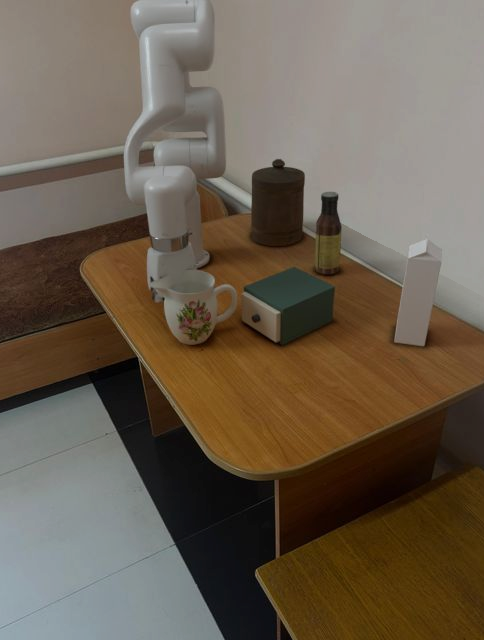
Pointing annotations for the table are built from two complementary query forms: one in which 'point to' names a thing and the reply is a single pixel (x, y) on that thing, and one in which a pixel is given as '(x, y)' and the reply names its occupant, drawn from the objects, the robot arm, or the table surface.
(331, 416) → the table surface
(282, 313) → the cabinet
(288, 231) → the wooden container
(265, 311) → the drawer
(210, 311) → the pitcher
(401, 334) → the milk
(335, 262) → the sauce bottle
